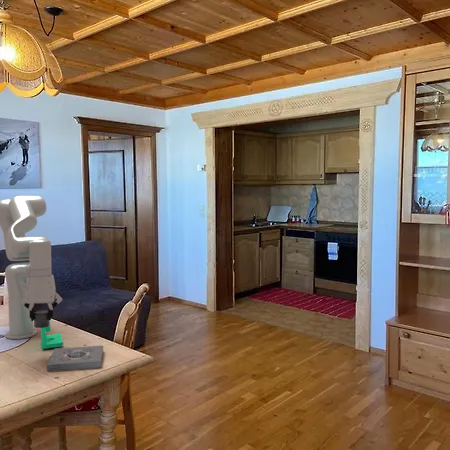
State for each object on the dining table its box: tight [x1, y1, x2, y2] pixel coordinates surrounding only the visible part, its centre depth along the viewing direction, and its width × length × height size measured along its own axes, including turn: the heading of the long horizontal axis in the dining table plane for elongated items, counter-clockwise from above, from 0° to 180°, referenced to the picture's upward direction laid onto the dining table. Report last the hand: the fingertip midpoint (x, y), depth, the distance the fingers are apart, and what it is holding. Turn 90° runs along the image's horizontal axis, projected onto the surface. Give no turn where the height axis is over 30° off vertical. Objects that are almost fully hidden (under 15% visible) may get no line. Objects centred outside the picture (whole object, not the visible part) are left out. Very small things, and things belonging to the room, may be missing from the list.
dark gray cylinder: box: [33, 310, 51, 329], centre depth 167 cm, size 5×5×5 cm
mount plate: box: [46, 345, 104, 373], centre depth 164 cm, size 16×18×2 cm
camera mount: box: [40, 324, 64, 350], centre depth 181 cm, size 12×8×10 cm, turn 24°
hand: (41, 319), depth 167 cm, fingers closed on dark gray cylinder, 5 cm apart
